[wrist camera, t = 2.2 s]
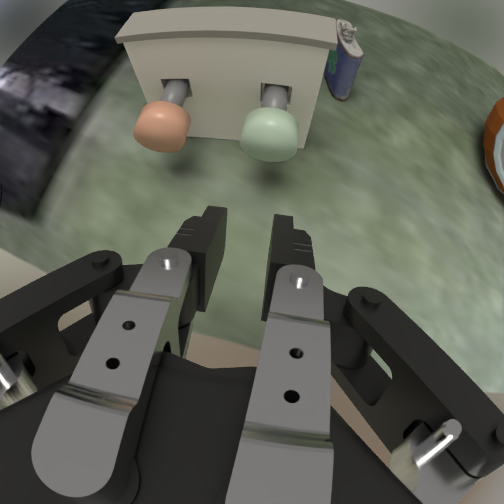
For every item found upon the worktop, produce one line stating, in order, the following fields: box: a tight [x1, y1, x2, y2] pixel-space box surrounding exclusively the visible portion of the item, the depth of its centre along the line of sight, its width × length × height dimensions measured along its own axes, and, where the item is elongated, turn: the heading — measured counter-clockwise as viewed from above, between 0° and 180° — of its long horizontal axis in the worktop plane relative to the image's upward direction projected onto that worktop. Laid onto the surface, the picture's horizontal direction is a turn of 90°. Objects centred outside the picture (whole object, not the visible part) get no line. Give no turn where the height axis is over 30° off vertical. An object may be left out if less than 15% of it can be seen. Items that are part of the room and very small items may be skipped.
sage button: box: [240, 83, 299, 162], centre depth 27 cm, size 5×8×5 cm, turn 172°
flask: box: [324, 20, 363, 101], centre depth 34 cm, size 9×3×11 cm, turn 1°
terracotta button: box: [133, 79, 191, 152], centre depth 27 cm, size 5×8×5 cm, turn 172°
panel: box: [115, 7, 338, 149], centre depth 28 cm, size 19×4×17 cm, turn 82°
